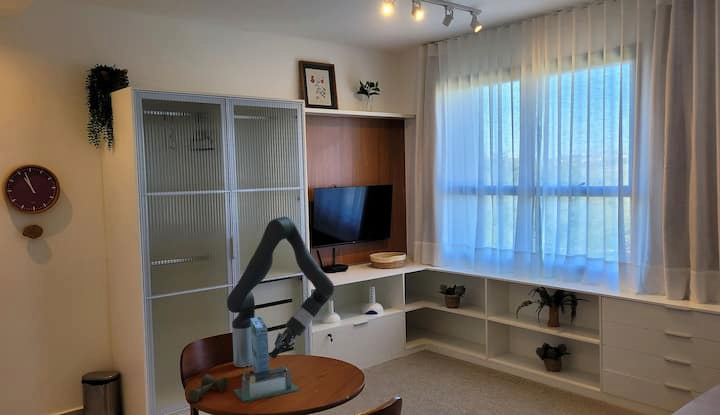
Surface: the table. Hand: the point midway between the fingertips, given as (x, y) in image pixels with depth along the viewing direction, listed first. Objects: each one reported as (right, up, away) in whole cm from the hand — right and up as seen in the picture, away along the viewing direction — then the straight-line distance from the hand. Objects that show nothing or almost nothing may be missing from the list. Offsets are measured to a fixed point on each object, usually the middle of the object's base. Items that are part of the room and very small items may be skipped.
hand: (271, 357), depth 220 cm
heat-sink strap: (-2, -7, -1) cm, 7 cm away
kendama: (-24, -14, 0) cm, 28 cm away
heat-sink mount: (-2, -13, -1) cm, 13 cm away
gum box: (-7, -13, +17) cm, 22 cm away
